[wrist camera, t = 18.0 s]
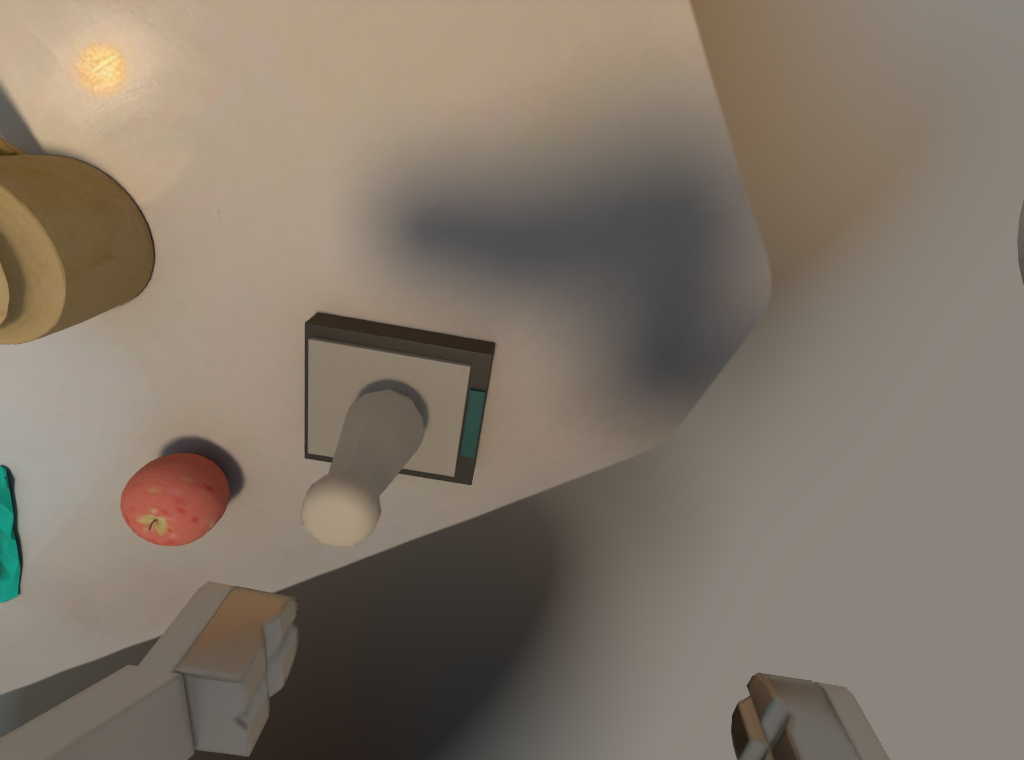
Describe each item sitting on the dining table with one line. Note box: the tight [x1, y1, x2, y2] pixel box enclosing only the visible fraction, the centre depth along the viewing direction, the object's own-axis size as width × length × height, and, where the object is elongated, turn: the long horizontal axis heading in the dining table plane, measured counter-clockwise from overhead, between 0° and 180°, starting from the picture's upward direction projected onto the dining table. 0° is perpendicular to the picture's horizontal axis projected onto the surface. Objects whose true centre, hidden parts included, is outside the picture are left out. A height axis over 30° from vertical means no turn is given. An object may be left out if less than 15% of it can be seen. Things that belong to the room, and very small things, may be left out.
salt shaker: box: [300, 389, 424, 548], centre depth 34 cm, size 6×6×13 cm
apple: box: [121, 453, 230, 546], centre depth 43 cm, size 7×7×8 cm
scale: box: [305, 313, 495, 485], centre depth 42 cm, size 14×12×3 cm
